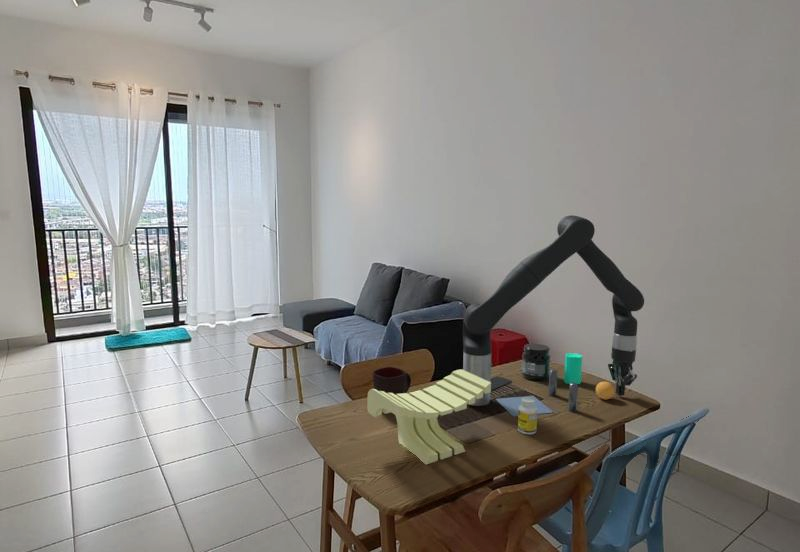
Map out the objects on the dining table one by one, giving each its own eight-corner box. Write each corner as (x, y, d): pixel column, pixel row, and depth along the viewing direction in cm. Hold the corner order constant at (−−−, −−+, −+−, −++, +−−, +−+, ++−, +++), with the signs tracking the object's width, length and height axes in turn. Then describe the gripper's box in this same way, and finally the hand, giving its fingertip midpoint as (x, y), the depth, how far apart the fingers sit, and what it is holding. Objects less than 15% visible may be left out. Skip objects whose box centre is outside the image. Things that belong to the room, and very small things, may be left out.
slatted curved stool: (453, 422, 151) (454, 366, 148) (489, 443, 137) (491, 382, 135) (367, 447, 135) (367, 385, 133) (398, 474, 122) (398, 405, 119)
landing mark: (512, 416, 155) (512, 415, 155) (495, 399, 168) (495, 398, 168) (553, 412, 158) (553, 412, 158) (533, 396, 171) (533, 395, 171)
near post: (571, 412, 158) (572, 385, 157) (566, 409, 160) (568, 382, 159) (578, 411, 158) (579, 385, 157) (574, 408, 161) (575, 382, 160)
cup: (368, 407, 162) (368, 372, 160) (398, 395, 171) (399, 362, 170) (388, 416, 155) (388, 379, 153) (419, 404, 164) (419, 369, 163)
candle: (582, 385, 182) (583, 354, 180) (565, 384, 183) (566, 353, 181) (579, 379, 187) (581, 349, 186) (563, 378, 189) (564, 348, 187)
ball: (601, 402, 165) (603, 385, 165) (591, 396, 171) (592, 379, 170) (617, 401, 167) (618, 384, 166) (607, 394, 172) (608, 378, 172)
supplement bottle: (514, 428, 147) (515, 397, 145) (529, 425, 149) (530, 394, 147) (524, 436, 142) (526, 403, 140) (540, 433, 144) (541, 401, 142)
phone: (513, 380, 185) (489, 390, 175) (513, 383, 185) (489, 392, 175) (497, 375, 191) (472, 385, 181) (497, 378, 191) (472, 387, 181)
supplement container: (544, 372, 196) (546, 343, 194) (553, 381, 186) (554, 350, 184) (518, 372, 196) (519, 343, 194) (525, 381, 185) (526, 351, 184)
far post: (550, 396, 171) (551, 372, 169) (547, 394, 173) (548, 369, 172) (557, 396, 171) (558, 371, 170) (553, 393, 174) (555, 369, 172)
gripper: (602, 341, 174) (598, 388, 176) (626, 352, 161) (622, 403, 163) (621, 340, 175) (617, 387, 178) (647, 351, 162) (642, 401, 165)
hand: (619, 394), depth 170 cm, fingers closed
